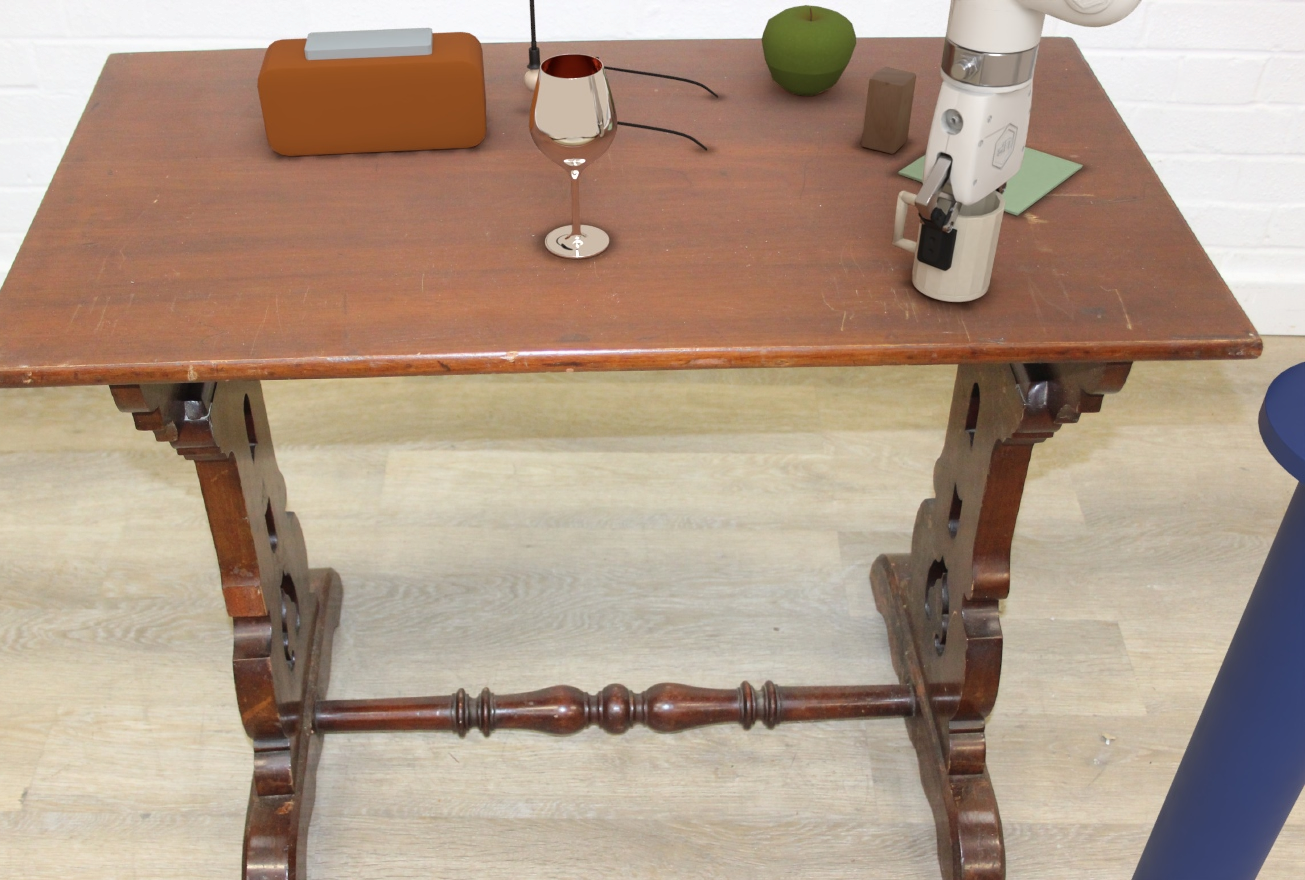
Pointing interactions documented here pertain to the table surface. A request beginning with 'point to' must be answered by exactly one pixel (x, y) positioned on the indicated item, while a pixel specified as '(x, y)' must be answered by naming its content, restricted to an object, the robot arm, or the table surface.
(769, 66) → the apple
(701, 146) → the glasses
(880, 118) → the wooden block
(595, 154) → the wineglass
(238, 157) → the table surface
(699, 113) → the table surface
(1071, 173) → the mat
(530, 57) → the light fixture
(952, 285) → the mug
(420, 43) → the alarm clock
